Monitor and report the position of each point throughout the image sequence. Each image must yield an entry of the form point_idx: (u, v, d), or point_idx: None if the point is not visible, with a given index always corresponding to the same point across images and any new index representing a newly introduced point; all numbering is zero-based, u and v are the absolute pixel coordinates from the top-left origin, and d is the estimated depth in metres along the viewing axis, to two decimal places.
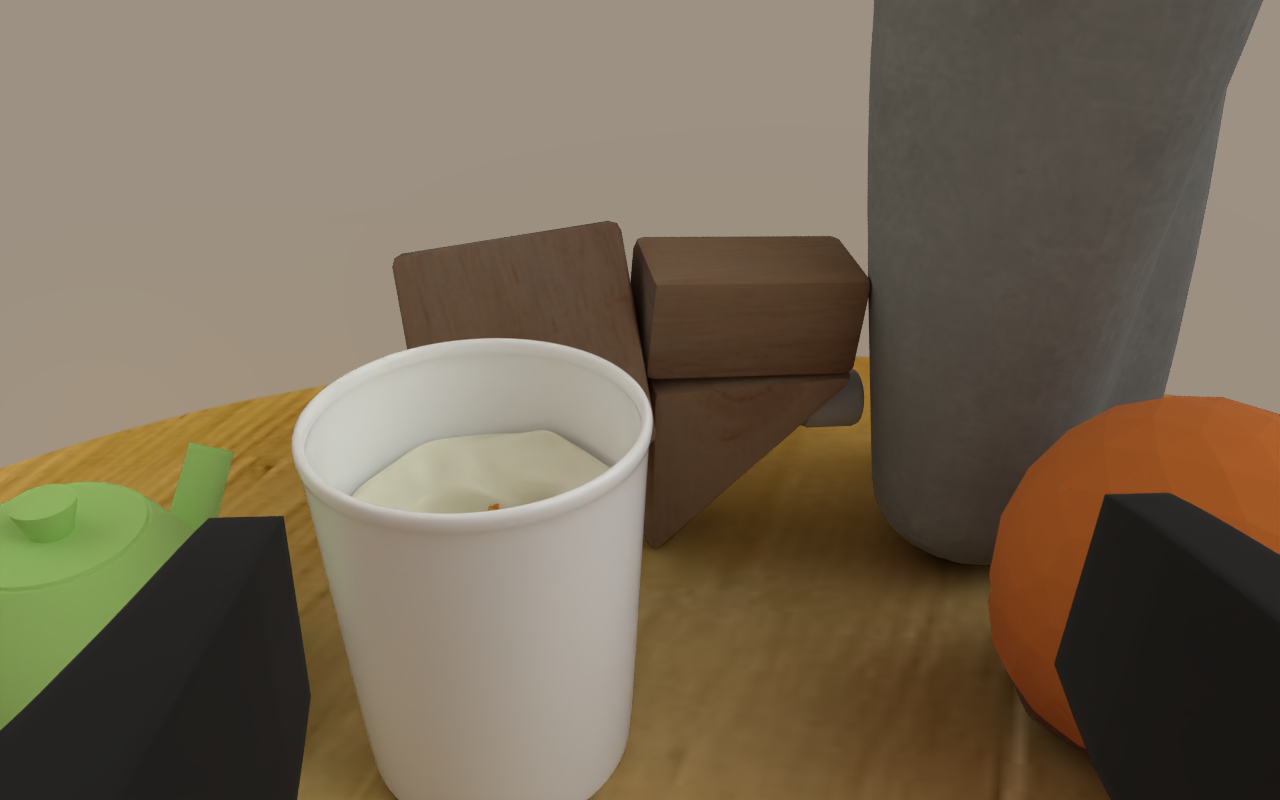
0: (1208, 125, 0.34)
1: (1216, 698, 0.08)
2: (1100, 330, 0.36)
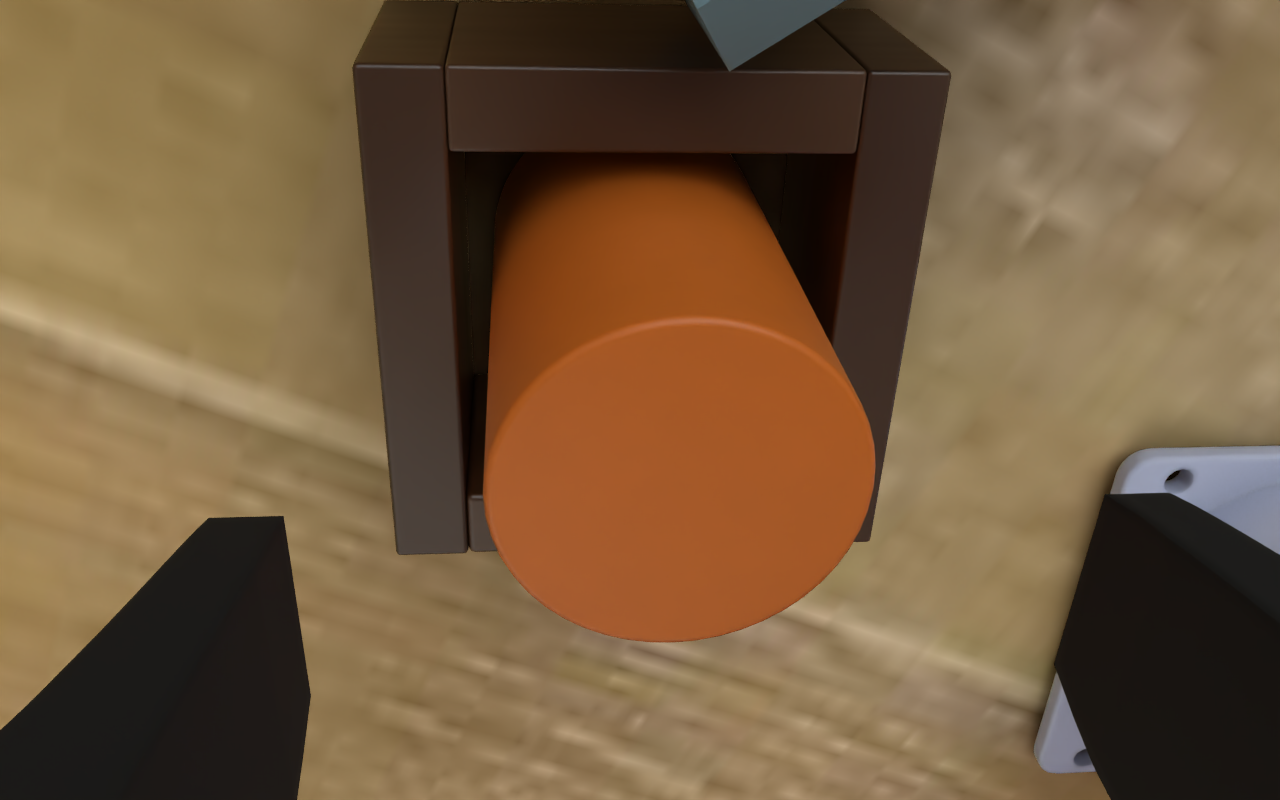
0: None
1: (1216, 698, 0.08)
2: None
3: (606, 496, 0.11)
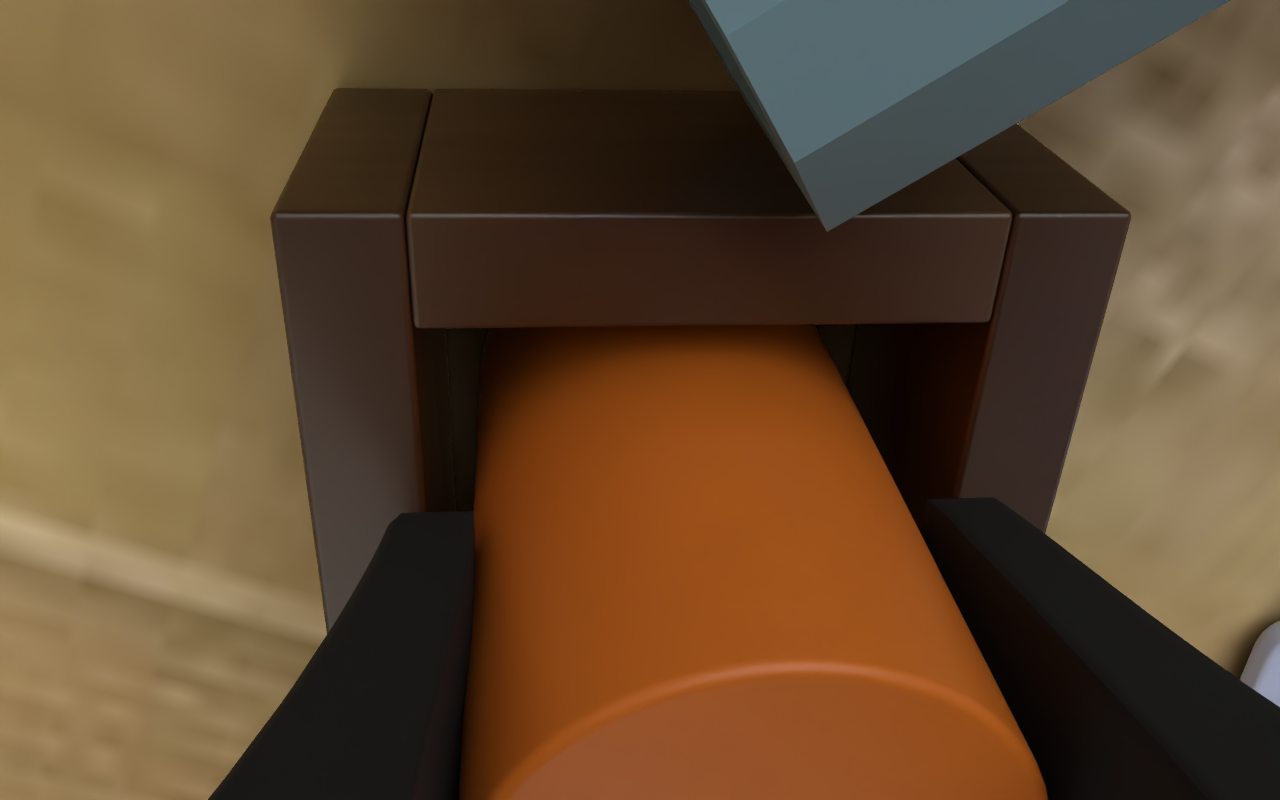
0: None
1: (1011, 707, 0.08)
2: None
3: None
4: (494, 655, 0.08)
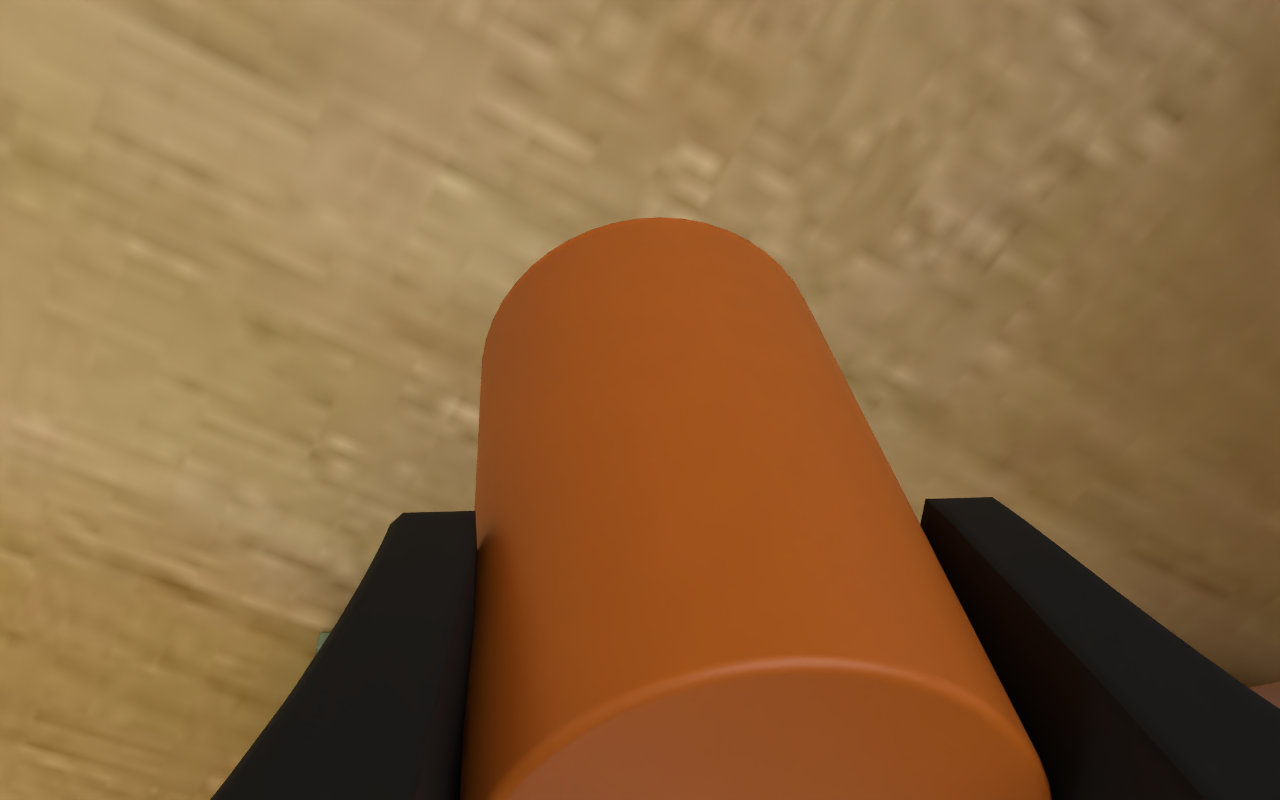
0: None
1: None
2: None
3: None
4: (496, 651, 0.08)
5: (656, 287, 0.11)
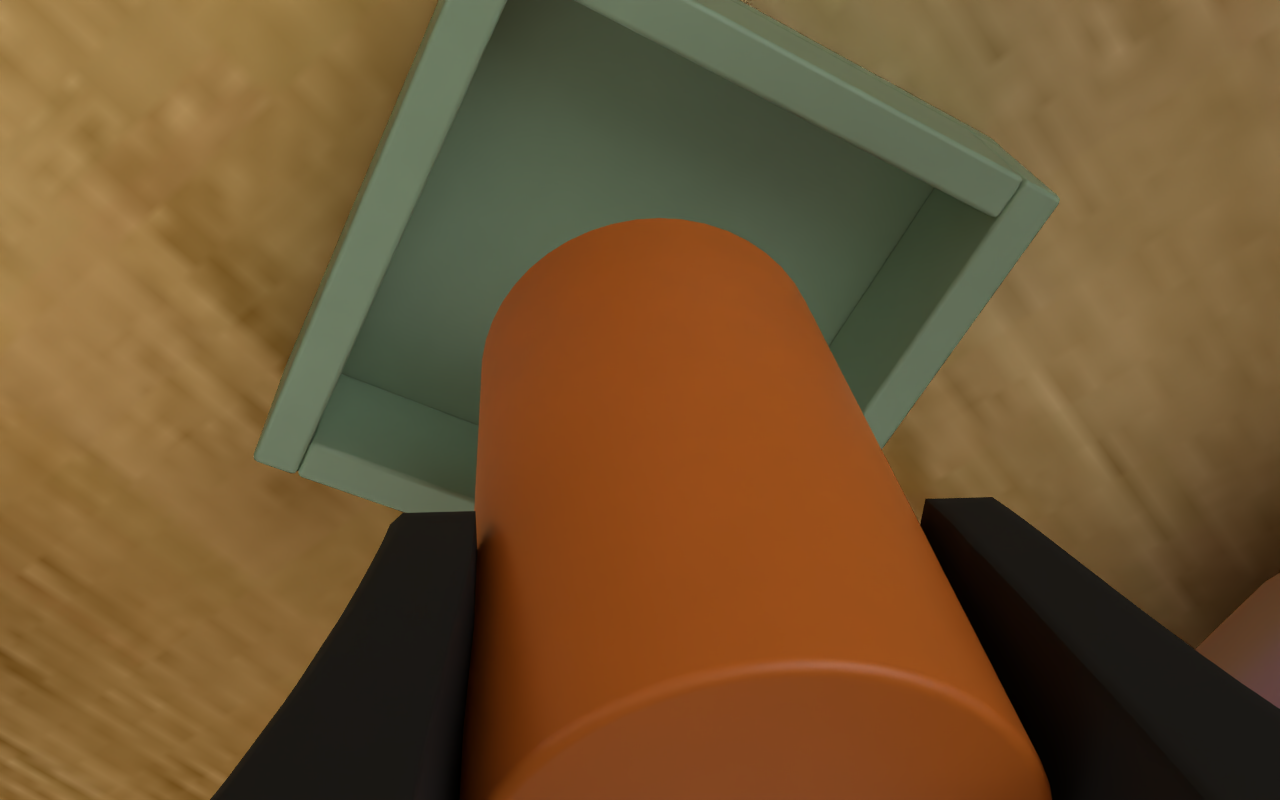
0: None
1: None
2: None
3: None
4: (495, 653, 0.08)
5: (656, 289, 0.11)
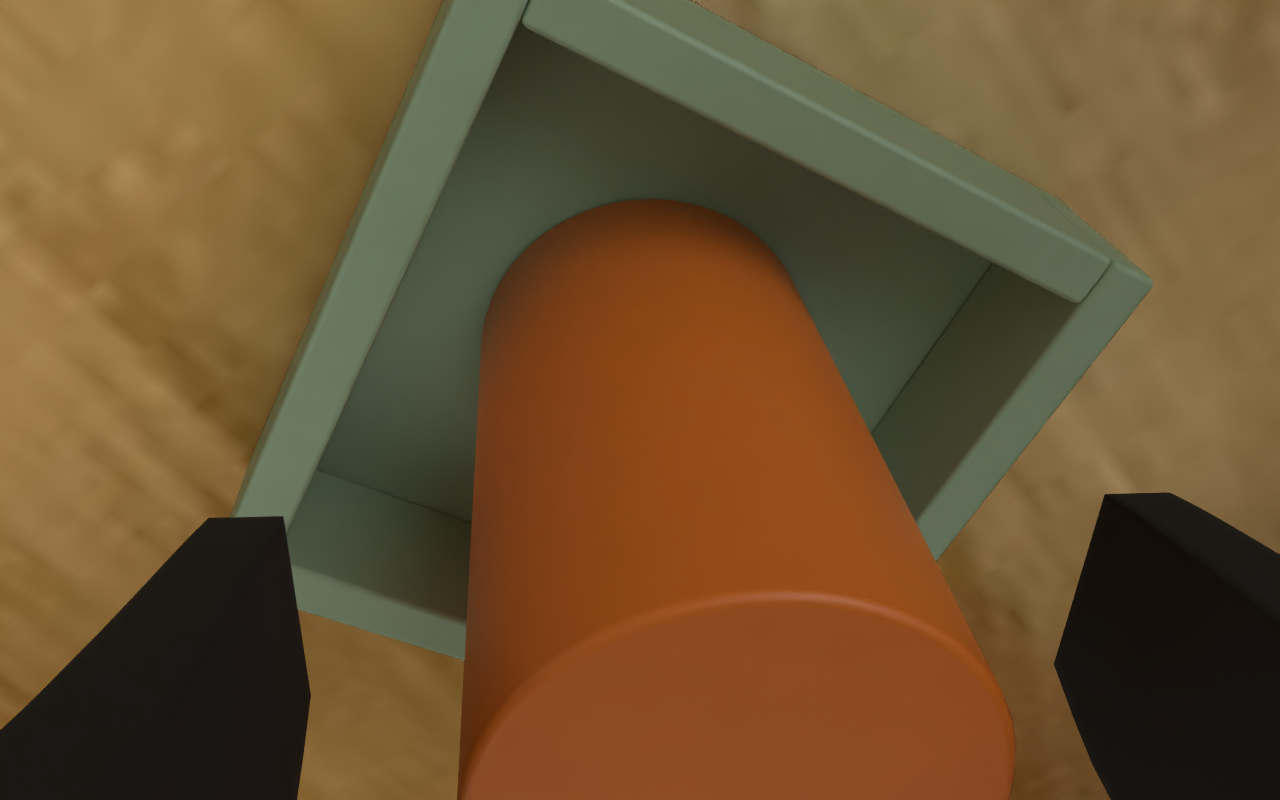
0: None
1: (1216, 698, 0.08)
2: None
3: None
4: (494, 596, 0.08)
5: (647, 263, 0.11)
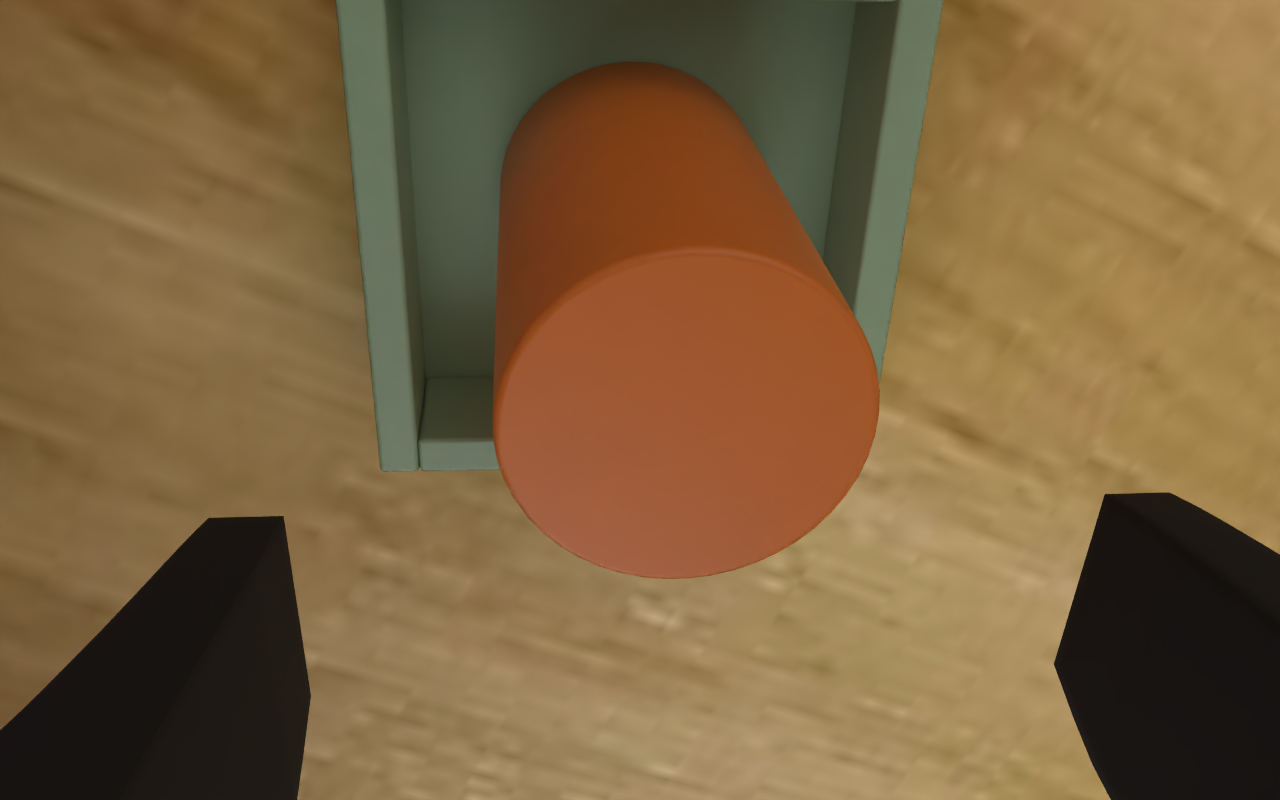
0: None
1: (1216, 698, 0.08)
2: None
3: (759, 401, 0.11)
4: None
5: None
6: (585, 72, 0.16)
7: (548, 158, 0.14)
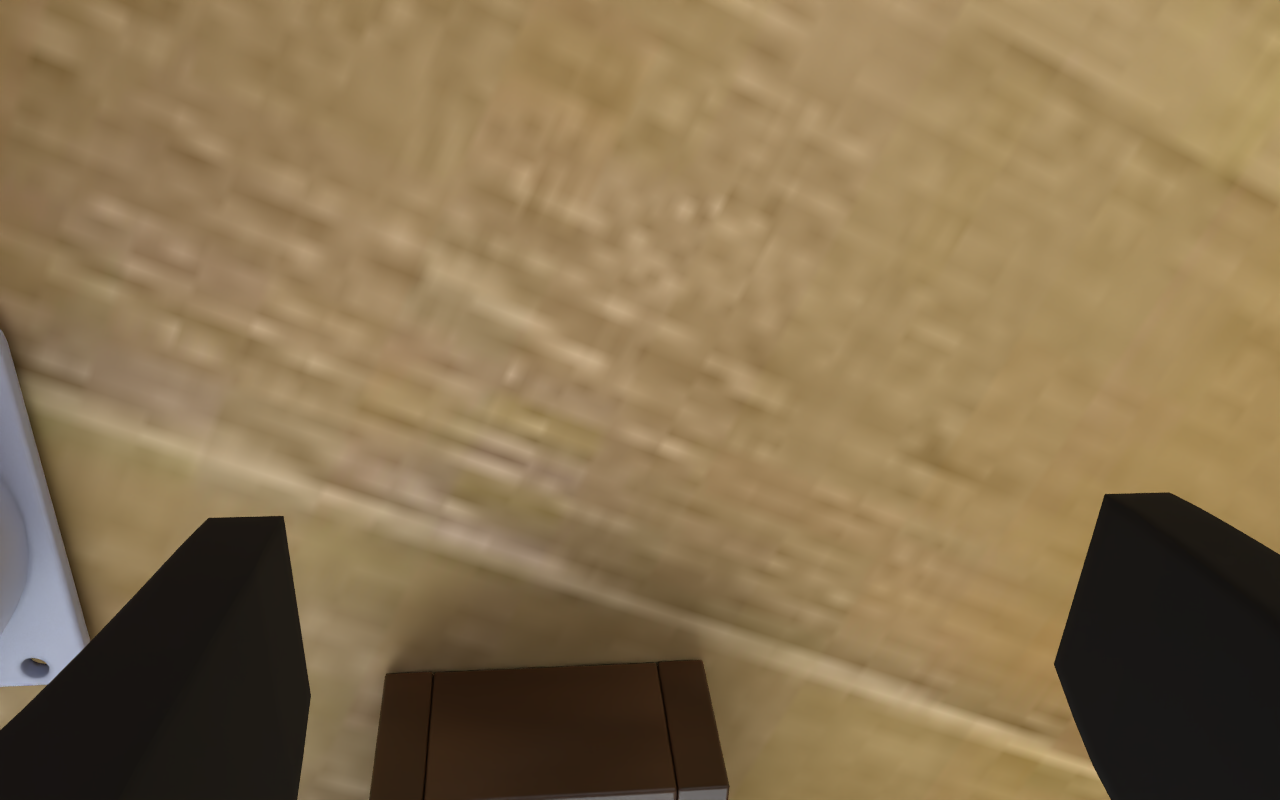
0: None
1: (1216, 698, 0.08)
2: None
3: None
4: None
5: None
6: None
7: None
